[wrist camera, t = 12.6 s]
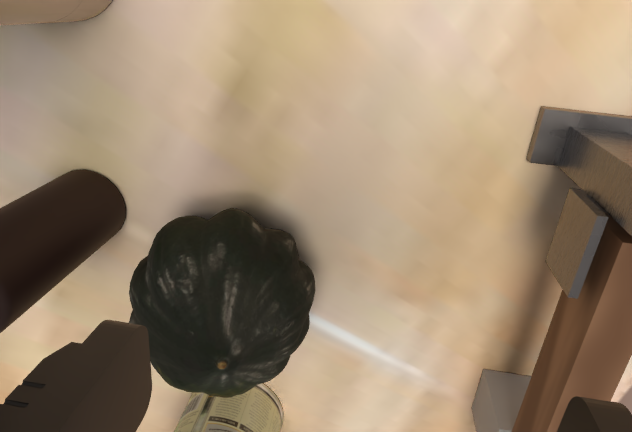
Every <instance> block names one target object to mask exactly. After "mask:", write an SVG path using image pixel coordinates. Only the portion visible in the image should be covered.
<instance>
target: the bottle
mask: <svg viewBox="0 0 632 432" xmlns="http://www.w3.org/2000/svg"><path fill="white" fill-rule="evenodd" d="M125 211H126V208H125V205H124V201H123V198H122V196H121V194H120V193H119V191H118V189H117V188H116V187H115V186H114V185H113V184H112V183H111V182H110V181H109V180H108V179H107V178H105V177H103V176H102V175H100V174H98V173H96V172H92V171H88V170H74V171H70V172H68V173H66V174H64V175H62V176H60V177H58V178H56V179H54V180H52V181H51V182H49V183H47V184H45V185H43V186H41V187H39V188H37V189H36V190H34V191H32V192H30V193H28V194H26V195H24V196H23V197H21V198H19V199H17V200H15V201H13V202H11V203H9V204H8V205H6V206H4V207H2V208H0V333H1V332H2V331H3V330H5V329H6V328H7V327H8V326H9V325H10V324H12V323H13V322H14V321H15V320H16V319H17V318H19V317H20V316H21V315H22V314H23V313H24V312H25V311H27V310H28V309H29V308H30V307H31V306H32V305H34V304H35V303H36V302H37V301H38V300H39V299H41V298H42V297H43V296H44V295H45V294H46V293H48V292H49V291H50V290H51V289H52V288H53V287H55V286H56V285H57V284H58V283H59V282H60V281H62V280H63V279H64V278H65V277H66V276H67V275H69V274H70V273H71V272H72V271H73V270H74V269H76V268H77V267H78V266H79V265H80V264H81V263H82V262H84V261H85V260H86V259H87V258H88V257H89V256H91V255H92V254H93V253H94V252H95V251H96V250H98V249H99V248H100V247H101V246H102V245H103V244H105V243H106V242H107V241H108V240H109V239H110V238H112V237H113V236H114V235H115V234H116V233H117V232H118V231H119V230H120V229H121V227H122V225H123V223H124V220H125Z"/></svg>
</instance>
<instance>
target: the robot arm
mask: <svg viewBox="0 0 632 432" xmlns="http://www.w3.org/2000/svg"><path fill="white" fill-rule="evenodd" d="M111 1H112V0H0V25H17V24H35V23H55V22H72V21H81V20H87V19H90V18H92V17H94V16H97V15H98V14H99V13H101V12H102V11H103V10H105V9H106V8H107V6H108V5H109V4H110V3H111ZM151 391H152V379H151V364H150V350H149V335H148V330H147V328H146V327H145V326H143V325H137V324H131V323H125V322H119V321H112V320H105V321H103V322H101V323H100V324H99V325H98V326H97V328H96V329H95V330H94V331H93V332H92V333H91V334H90V335H89V337H88V338H87V339H86V340H85V341H84V342H83V343H82V344H80V343H74V342H71V343H69V344H68V345H66V346H64V347H63V348H61V349H59V350H58V351H56V352H54V353H53V354H51V355H49V356H48V357H46V358H44V359H43V360H42V361H41V362H40V363H39V364H38V365H37V366H36V367H35V369H34V370H33V371H32V372H31V373H30V374H29V375H28V376H27V377H26V378H25V379H24V380H23V383H22V385H18V386H17V387H16V388H15V389H14V390H13V392H12V393H11V394H10V395H9V396H8V397H7V398H6V399H5V402H4V404H0V432H136V430H137V428H138V427H139V425H140V423H141V421H142V420H143V418H144V416H145V413H146V411H147V408H148V405H149V402H150V397H151ZM557 432H632V415H631V413H630V411H629V410H628V409H627V408H626V407H625V406H624V405H623V404H621V403H616V402H610V401H604V400H597V399H591V398H585V397H579V396H576V397H573V398H572V399H571V400H570V402H569V403H568V406H567V408H566V410H565V413H564V415H563V418H562V420H561V422H560V425H559V427H558V430H557Z"/></svg>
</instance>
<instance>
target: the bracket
mask: <svg viewBox="0 0 632 432" xmlns="http://www.w3.org/2000/svg"><path fill="white" fill-rule="evenodd" d="M526 159H527V160H528V161H529V162H530V163H538V164H546V165H554V166H558V167H559V168H560V169H561V170H562V171H563V172H564V173H565V174H567V175H568V176H569V177H570V178H571V179H572V180H573V181H574V182H575V183H576V184H577V185H578V186H579V187H580V188H581V189H582V190H581V189H573V188H570V189H569V192H568V195H567V198H566V201H565V204H564V207H563V210H562V213H561V216H560V219H559V222H558V225H557V228H556V231H555V234H554V237H553V240H552V243H551V246H550V249H549V252H548V255H547V258H546V263H547V265H548V266H549V268H550V270H551V271H552V273H553V274H554V276H555V278H556V279H557V281H558V282H559V284H560V286H561V287H562V289H563V291H564V292H565V294H566V295H567V297H569V298H576V299H578V297H579V294H580V292H581V289H582V286H583V284H584V281H585V279H586V276H587V273H588V271H589V268H590V265H591V263H592V260H593V257H594V255H595V252H596V250H597V247H598V244H599V242H600V239H601V236H602V234H603V231H604V228H605V226H606V223H607V220H608V218H609V217H608V216H607V215H606V214H605V213H604V212H606V213H608V214H609V215H610V216H611V217H612V218H613V219H614V220H615V221H616V222H617V223H618V224H619V225H620V226H621V227H623V228H624V229H625V230H626V231H627V232H628V233H629V234H630V235H631V236H632V116H623V115H614V114H605V113H597V112H588V111H579V110H570V109H561V108H552V107H544V106H541V108H540V112H539V115H538V119H537V122H536V126H535V129H534V133H533V137H532V140H531V144H530V147H529V151H528V154H527V158H526Z"/></svg>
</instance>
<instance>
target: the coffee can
mask: <svg viewBox="0 0 632 432" xmlns="http://www.w3.org/2000/svg"><path fill="white" fill-rule="evenodd" d="M282 423H283V409H282V406H281V403H280V401H279V399H278V398H277V396H276V395H275V394H274V393H273V392H272V391H271V390H270V389H269V388H268V387H267V386H266V385H264V384H263V383H261V384H258V385H256V386H255V387H254V388H252V389H251V390H249V391H247V392H246V393H244V394H241V395H236V396H233V397H230V398H221V397H215V396H211V395H207V394H205V393H193V392H192V395H191V398H190V400H189V402H188V404H187V406H186V408H185V410H184V412H183V414H182V416H181V418H180V421H179V423H178V425H177V427H176V429H175V431H174V432H280V428H281V426H282Z"/></svg>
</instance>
